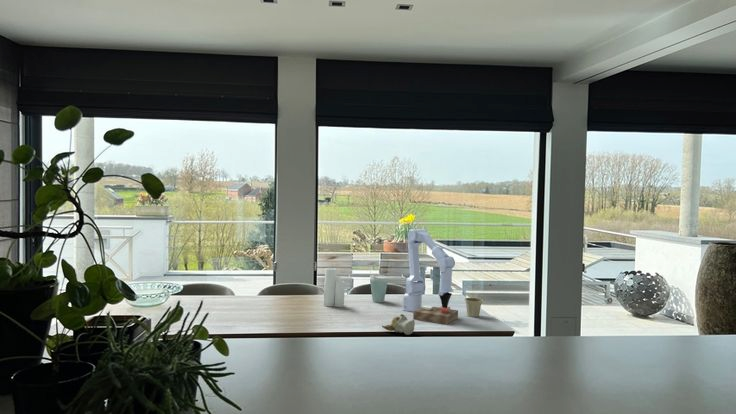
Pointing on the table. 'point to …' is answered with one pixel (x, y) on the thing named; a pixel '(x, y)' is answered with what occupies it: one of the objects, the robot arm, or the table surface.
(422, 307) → the cream button
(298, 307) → the table surface
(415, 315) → the panel
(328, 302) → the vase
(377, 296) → the disposable coffee cup
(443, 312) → the red button
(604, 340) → the table surface
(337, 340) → the table surface
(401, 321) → the ceramic sculpture
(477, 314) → the flower pot
